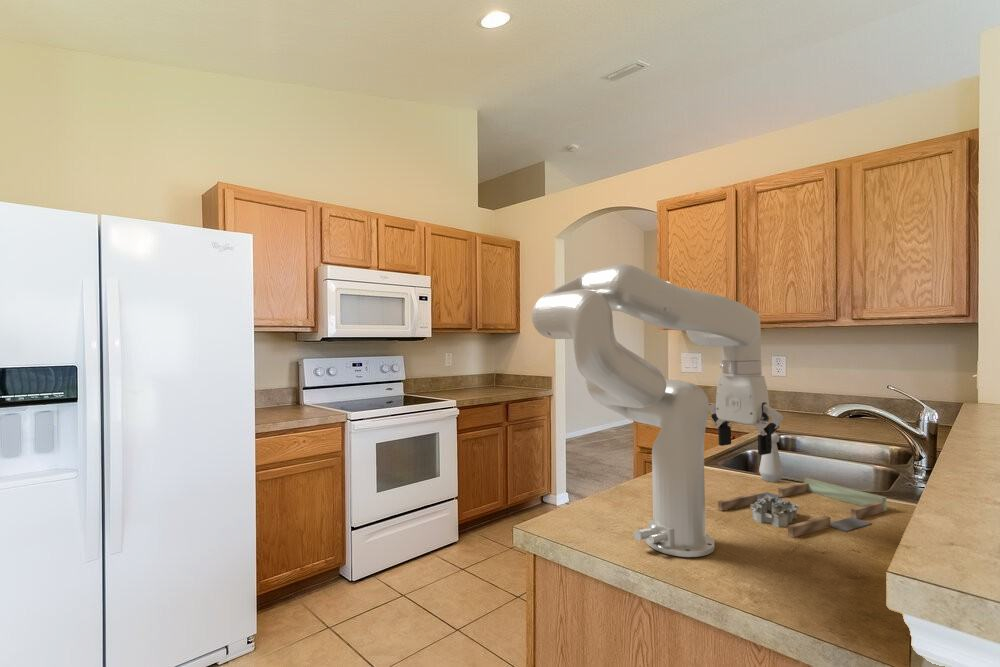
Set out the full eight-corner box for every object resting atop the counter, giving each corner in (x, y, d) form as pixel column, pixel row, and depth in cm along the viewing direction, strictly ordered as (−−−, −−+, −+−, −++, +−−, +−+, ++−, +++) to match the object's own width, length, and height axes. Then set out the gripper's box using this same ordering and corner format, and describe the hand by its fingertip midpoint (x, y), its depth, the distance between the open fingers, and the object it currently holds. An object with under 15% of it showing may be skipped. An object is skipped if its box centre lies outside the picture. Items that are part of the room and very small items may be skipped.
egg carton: (784, 530, 103) (783, 511, 103) (746, 521, 109) (746, 502, 109) (802, 517, 110) (802, 499, 110) (766, 509, 116) (766, 491, 116)
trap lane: (807, 543, 96) (807, 527, 96) (707, 506, 118) (707, 493, 118) (902, 514, 110) (901, 501, 110) (796, 486, 132) (796, 475, 132)
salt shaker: (781, 484, 134) (780, 435, 134) (757, 480, 137) (756, 433, 137) (784, 479, 138) (783, 432, 138) (761, 476, 142) (760, 430, 142)
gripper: (696, 367, 112) (699, 443, 112) (766, 372, 97) (769, 460, 97) (720, 366, 116) (722, 440, 115) (792, 370, 100) (794, 455, 100)
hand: (744, 449), depth 106 cm, fingers open, 9 cm apart
